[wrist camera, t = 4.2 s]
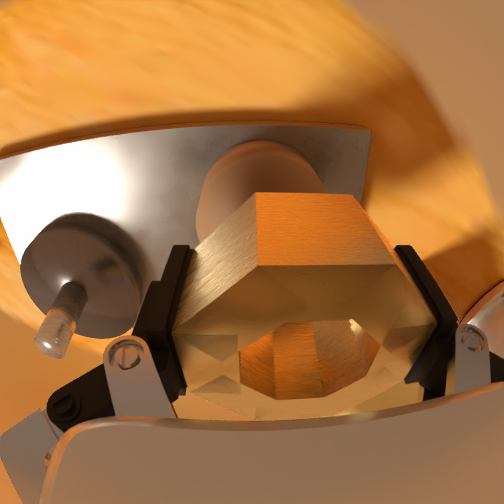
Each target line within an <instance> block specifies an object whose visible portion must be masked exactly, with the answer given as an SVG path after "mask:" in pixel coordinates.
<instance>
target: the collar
mask: <svg viewBox="0 0 504 504" xmlns="http://www.w3.org/2000/svg"><path fill="white" fill-rule="evenodd" d="M436 325H437V321H436V320H435V318H434V316H433V314H432V312H431V310H430V309H429V307H428V305H427V303H426V301H425V300H424V298H423V296H422V294H421V292H420V291H419V289H418V287H417V286H416V284H415V282H414V280H413V279H412V277H411V275H410V274H409V272H408V270H407V269H406V267H405V265H404V264H403V262H402V261H401V259H400V257H399V256H398V254H397V253H396V251H395V250H394V248H393V247H392V245H391V244H390V243H389V241H388V240H387V239H386V237H385V236H384V235H383V233H382V232H381V231H380V229H379V228H378V227H377V226H376V224H375V223H374V222H373V220H372V219H371V218H370V217H369V215H368V214H367V213H366V211H365V210H364V209H363V208H362V206H361V205H360V204H359V203H358V202H357V200H356V199H355V198H354V197H353V195H347V194H321V193H273V192H255V193H254V194H253V195H252V196H251V197H250V198H249V199H248V200H247V201H246V202H244V203H243V204H242V205H241V206H240V207H239V208H238V209H237V210H236V211H235V212H234V213H233V214H231V215H230V216H229V217H228V218H227V219H226V220H225V221H224V222H223V223H222V224H221V225H220V226H219V227H217V228H216V229H215V230H214V231H213V232H212V233H211V234H210V235H209V236H208V237H207V238H206V239H205V240H204V241H203V242H202V243H200V244H199V245H198V246H197V247H196V248H195V249H194V250H193V254H192V258H191V261H190V265H189V269H188V272H187V276H186V280H185V284H184V288H183V291H182V295H181V299H180V303H179V307H178V311H177V315H176V319H175V323H174V326H173V328H172V332H171V334H172V337H173V341H174V344H175V348H176V351H177V354H178V358H179V361H180V364H181V367H182V371H183V374H184V377H185V380H186V383H187V386H188V389H189V392H191V393H193V394H195V395H197V396H199V397H201V398H204V399H206V400H208V401H210V402H213V403H215V404H217V405H220V406H222V407H224V408H227V409H229V410H232V411H234V412H236V413H239V414H242V415H244V416H247V417H249V418H252V419H255V420H264V419H265V420H268V419H293V418H294V419H295V418H310V417H322V416H332V415H335V414H338V413H340V412H342V411H344V410H347V409H349V408H351V407H353V406H355V405H357V404H359V403H362V402H364V401H366V400H368V399H370V398H372V397H374V396H376V395H378V394H380V393H381V392H383V391H385V390H387V389H389V388H391V387H393V386H395V385H396V384H398V383H400V382H402V381H403V380H404V378H405V377H406V375H407V374H408V372H409V370H410V369H411V367H412V366H413V364H414V363H415V361H416V359H417V358H418V356H419V355H420V353H421V351H422V350H423V348H424V346H425V344H426V343H427V341H428V339H429V338H430V336H431V334H432V332H433V330H434V329H435V327H436Z"/></svg>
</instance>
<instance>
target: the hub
mask: <svg viewBox="0 0 504 504" xmlns="http://www.w3.org/2000/svg"><path fill="white" fill-rule="evenodd" d="M20 270H21V277H22V281H23V283H24V286H25V288H26V290H27V292H28V294H29V296H30V298H31V299H32V300H33V302H34V303H35V304H36V306H37V307H38V308H39V309H40V310H41V311H42V312H43V313H44V314H45V315H46V317H45V319H44V321H43V323H42V325H41V327H40V329H39V331H38V333H37V335H36V337H35V343H36V345H37V347H38V348H39V349H40V350H41V351H42V352H44V353H45V354H47V355H48V356H50V357H53V358H57V359H61V358H63V357H64V355H65V353H66V350H67V348H68V345H69V343H70V340H71V338H72V335H73V333H76V334H79V335H82V336H86V337H90V338H98V339H106V338H113V337H117V336H120V335H122V334H124V333H126V332H127V331H128V330H130V329H131V327H132V326H133V325H134V323H135V321H136V319H137V315H138V312H139V309H140V306H141V302H142V299H143V285H142V280H141V277H140V274H139V272H138V270H137V268H136V266H135V264H134V263H133V261H132V260H131V258H130V257H129V256H128V255H127V253H126V252H125V251H124V250H123V249H122V248H121V247H120V246H119V245H118V244H117V243H115V242H114V241H113V240H112V239H110V238H109V237H107V236H106V235H104V234H103V233H101V232H99V231H97V230H95V229H93V228H91V227H88V226H86V225H82V224H78V223H72V222H60V223H54V224H51V225H49V226H47V227H45V228H43V229H42V230H41V231H40V232H39V233H38V234H37V235H36V236H35V237H34V239H33V240H32V241H31V242H30V244H29V245H28V246H27V247H26V249H25V250H24V252H23V254H22V258H21V263H20Z"/></svg>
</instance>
